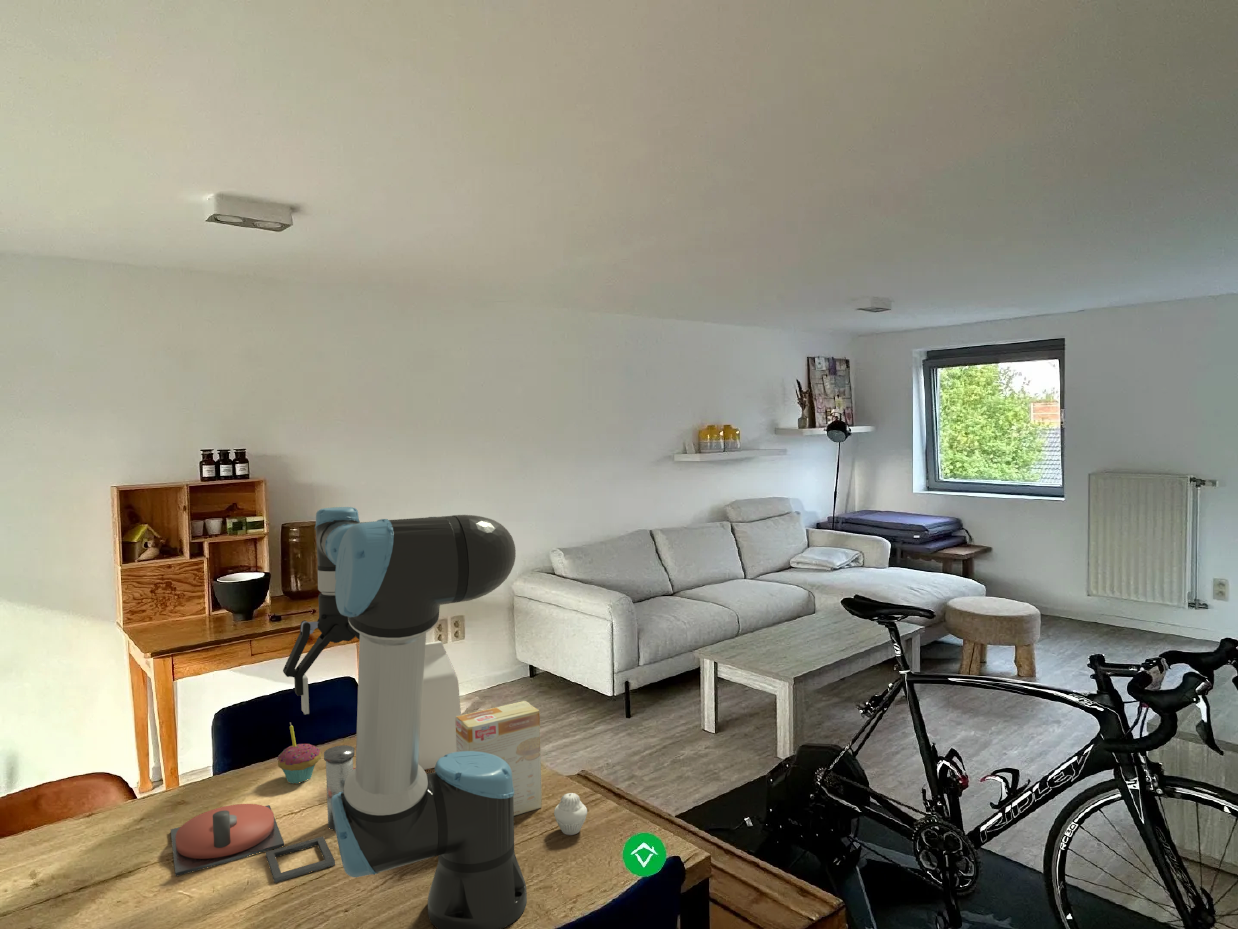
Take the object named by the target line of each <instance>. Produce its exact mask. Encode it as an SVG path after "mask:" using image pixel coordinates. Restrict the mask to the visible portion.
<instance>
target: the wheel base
mask: <svg viewBox="0 0 1238 929" xmlns="http://www.w3.org/2000/svg"><path fill="white" fill-rule="evenodd" d="M265 806H266V807H268V808H269V809H271V810H272V808H271V805H270V804H267V805H265ZM180 827H181V826H178V827H175V828H171V829H170V836H171V837H170V838H171V839H170V840H171V846H172V855H173V865H174V867H173V868H174V875H175V877H179V876H182V875H186V874H190V873H193V872H192V871H194V872H197V871H201V870H204V869H203V868H205V869H208V868H211V866H212V867H214V865H216V866H218V865H222V864H226V863H229V862H233V860H234V861H237V860H241V859H244V857H245V858H247V856H248V857H250V856H249V855H252V854H255V855H257V854H256V853H259V852H263V853H266V852H267V851H271V850H272V849H274V850H275V849H276V848H277V849H278V848H280V847H281V848H282V846H284V847H285V842H284V838H283V836H282V834H281V831H280V829H279V826H278V822H277V820H276V818H275V817H274V829H273V831H272V832H271V834H270V835H269V836H268V837H267V838H265V839H264V840H263V841H261V842H260V843H258V844H257V845H255V846H253V847H251V848H249V849H246V850H244V851H241V852H238V853H235V854H232V855H228V856H223V857H218V858H210V859H195V858H189V857H186V856H183V855H181V854H180V853H179V852H178V851H177V849H176V833H177V831H178V830H179V828H180ZM259 854H260V853H259ZM252 856H253V855H252ZM236 859H237V860H236ZM207 867H208V868H207ZM200 869H201V870H200Z"/></svg>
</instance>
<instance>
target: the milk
mask: <svg viewBox="0 0 1238 929" xmlns="http://www.w3.org/2000/svg"><path fill="white" fill-rule="evenodd" d="M453 666H454V665H453V664H452V661H451V660H450V657H449V655H448V654H447V651H446V649H445V647H444V643H443V642H442V641H441V640H436V641H431V642H426V644H425V660H424V677H423V694H422V710H421V727H420V744H419V761H418V764H419V765H420V766H421V767H422V768H423V769H424V771H425V770H429V769H433V768H434V769H435V765H436V763H437V761H438V759H439V758H441V757H444V756H445V755H446V754H450V753H453V752H456V716H460V715H462V710H461V699H460V698H461V696H460V686H459V684H460V683H459V680H458V674H457V672H456V671H455V668H454V667H453Z"/></svg>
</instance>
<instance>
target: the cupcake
mask: <svg viewBox="0 0 1238 929" xmlns="http://www.w3.org/2000/svg"><path fill="white" fill-rule="evenodd" d="M289 725H290V726H289V730H290V731H289V732H290V736H291V742H292V745H289V746H288V747H286V748H284V749H283V751H281V752H280V754H279V755H278V756H277V757H276V758H277V760H276V761H277V766H278V767H279V769H281V771H282V772H283V774H284V776H285V778H286V780H287V782H288V783H289V782H290V783H289V784H294V783H296V784H300V783H299V782H302V781H305V780H307V779H309V780H311V778H312V777H313V771H314V768H315V766H316V764H317V763H319V760H320V761H321V758H322V753H321V750H320V749H319V747H316V746H315V745H313V744H310V743H298V744H297V742H296V737H295V731H294V726H293V725H292V722H289ZM307 781H308V780H307ZM305 782H306V781H305ZM302 783H303V782H302Z"/></svg>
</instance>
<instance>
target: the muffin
mask: <svg viewBox="0 0 1238 929" xmlns="http://www.w3.org/2000/svg"><path fill="white" fill-rule="evenodd" d="M553 810H554V813H553V814H554V818H555V822H556V823H557V824H558V825H557V826H558V827H559V829H560V830H561V832H562V834H564V835H565V836H566V835H567V836H573V835H576V834H578V833H579V832H580V831H581V829H582V826H583V825H584V823H585V821H586V818H587V815H588V808H587V807H586V805H585V804H584V803H583V802H582V801H581V797H580V796H579V795H578V794H577V793H575V792H574V793H573V792H568V793H565V794H563V795H562V796H561V798H560V801H559V803H558V804H557V805H556V807H555V808H554V809H553Z"/></svg>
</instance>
